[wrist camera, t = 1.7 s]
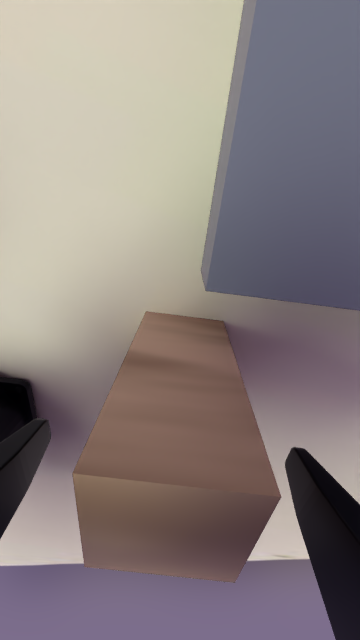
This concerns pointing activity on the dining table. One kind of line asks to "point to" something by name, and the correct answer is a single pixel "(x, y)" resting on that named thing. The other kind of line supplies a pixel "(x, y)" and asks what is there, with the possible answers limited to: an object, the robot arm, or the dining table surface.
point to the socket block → (290, 158)
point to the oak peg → (175, 459)
